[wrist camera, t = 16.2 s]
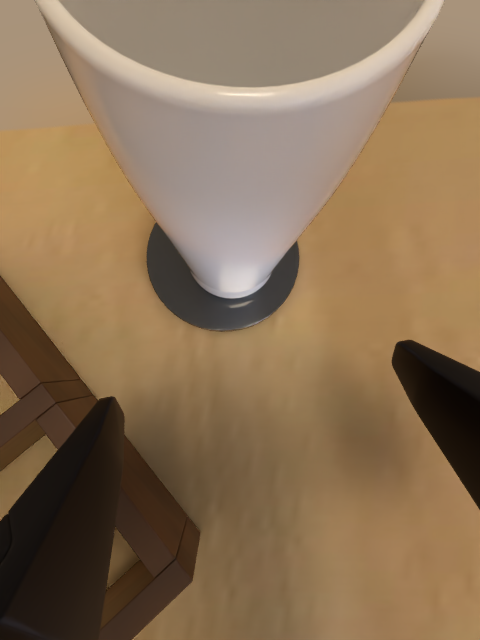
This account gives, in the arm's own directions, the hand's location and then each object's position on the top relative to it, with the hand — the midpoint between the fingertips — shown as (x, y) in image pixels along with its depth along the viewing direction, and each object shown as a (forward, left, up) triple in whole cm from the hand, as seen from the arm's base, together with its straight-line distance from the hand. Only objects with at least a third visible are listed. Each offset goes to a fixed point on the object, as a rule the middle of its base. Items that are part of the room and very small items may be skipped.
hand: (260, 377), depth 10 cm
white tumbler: (+7, -1, -9) cm, 11 cm away
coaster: (+7, 0, -9) cm, 12 cm away
